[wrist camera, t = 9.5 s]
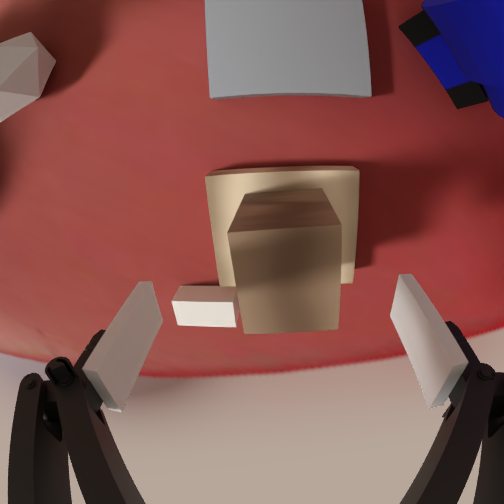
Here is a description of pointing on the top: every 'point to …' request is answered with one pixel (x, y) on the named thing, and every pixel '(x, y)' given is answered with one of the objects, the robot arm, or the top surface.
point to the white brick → (206, 306)
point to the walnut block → (287, 261)
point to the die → (22, 72)
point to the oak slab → (281, 179)
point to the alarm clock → (463, 48)
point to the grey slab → (287, 48)
